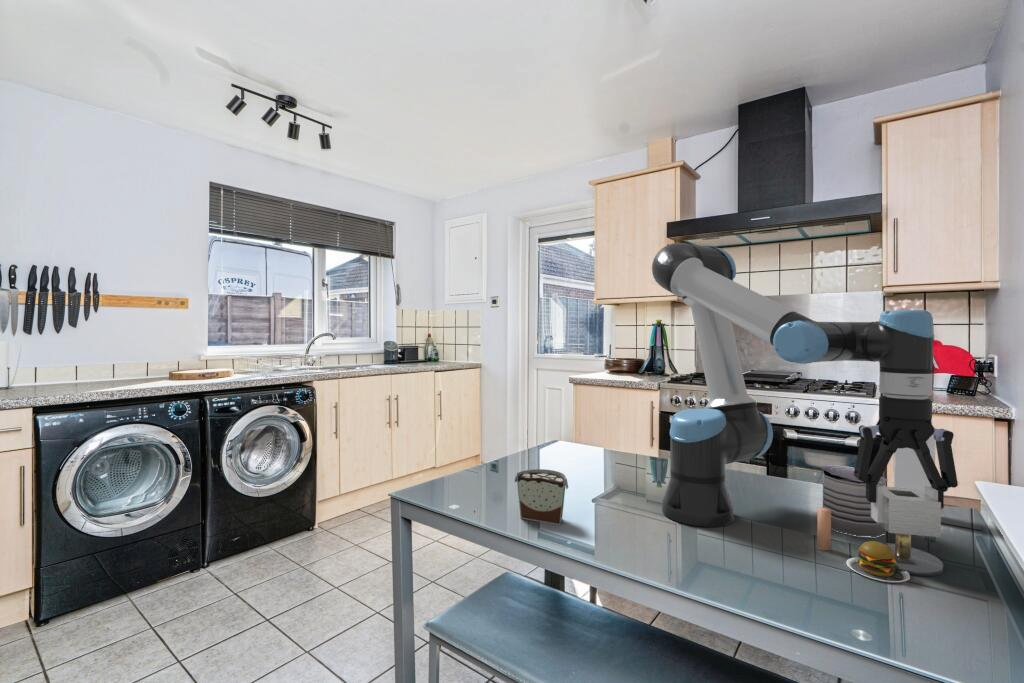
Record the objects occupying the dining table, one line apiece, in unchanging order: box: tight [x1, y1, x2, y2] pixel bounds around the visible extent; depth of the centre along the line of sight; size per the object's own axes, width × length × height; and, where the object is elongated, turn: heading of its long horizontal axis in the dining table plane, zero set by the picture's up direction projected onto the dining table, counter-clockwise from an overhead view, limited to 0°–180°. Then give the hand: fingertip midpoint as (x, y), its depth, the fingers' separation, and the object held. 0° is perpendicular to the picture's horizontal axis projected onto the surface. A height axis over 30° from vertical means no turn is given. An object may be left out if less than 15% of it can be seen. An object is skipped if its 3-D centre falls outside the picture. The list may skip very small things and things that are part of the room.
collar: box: [871, 486, 942, 538], centre depth 90 cm, size 8×8×6 cm
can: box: [820, 464, 889, 537], centre depth 106 cm, size 11×11×12 cm
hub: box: [882, 533, 944, 577], centre depth 90 cm, size 11×11×6 cm
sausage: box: [816, 507, 832, 551], centre depth 95 cm, size 2×2×8 cm
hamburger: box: [846, 540, 911, 583], centre depth 86 cm, size 12×12×6 cm
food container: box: [514, 468, 569, 526], centre depth 112 cm, size 12×6×10 cm, turn 65°
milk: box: [893, 420, 936, 493], centre depth 112 cm, size 6×6×22 cm
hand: (903, 522), depth 90 cm, fingers closed on collar, 8 cm apart
